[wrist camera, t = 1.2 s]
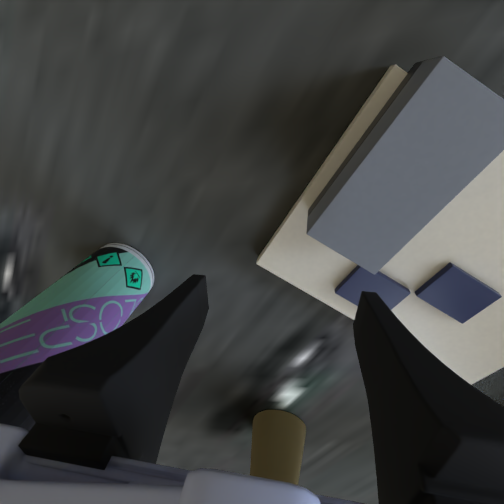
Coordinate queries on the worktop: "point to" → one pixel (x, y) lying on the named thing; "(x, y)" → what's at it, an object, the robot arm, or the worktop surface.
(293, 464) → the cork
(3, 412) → the spray can
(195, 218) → the worktop surface
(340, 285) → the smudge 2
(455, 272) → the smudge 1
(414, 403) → the robot arm
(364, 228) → the eraser
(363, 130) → the memo board
